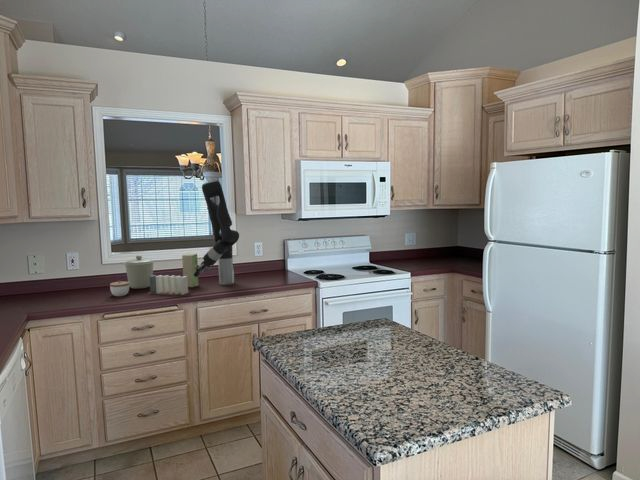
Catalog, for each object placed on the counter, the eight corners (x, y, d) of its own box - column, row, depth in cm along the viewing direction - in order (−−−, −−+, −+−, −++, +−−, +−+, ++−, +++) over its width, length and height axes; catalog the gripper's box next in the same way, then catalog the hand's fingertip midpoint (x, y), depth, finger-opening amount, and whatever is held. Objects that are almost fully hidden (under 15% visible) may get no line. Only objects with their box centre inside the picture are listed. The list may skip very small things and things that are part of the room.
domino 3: (169, 291, 275) (168, 275, 274) (164, 293, 270) (164, 276, 269) (167, 291, 275) (166, 275, 274) (162, 293, 270) (161, 276, 269)
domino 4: (175, 291, 274) (174, 275, 273) (171, 293, 269) (170, 277, 268) (173, 291, 274) (172, 275, 273) (168, 293, 269) (167, 277, 268)
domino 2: (163, 291, 276) (162, 275, 275) (158, 293, 271) (157, 276, 270) (161, 291, 276) (160, 275, 275) (156, 292, 272) (155, 276, 270)
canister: (122, 291, 281) (120, 257, 278) (128, 285, 298) (126, 253, 296) (153, 289, 284) (151, 256, 282) (157, 283, 302) (155, 252, 299)
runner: (190, 292, 273) (190, 291, 273) (182, 296, 265) (182, 295, 265) (156, 291, 280) (156, 290, 279) (147, 294, 271) (147, 293, 271)
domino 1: (157, 290, 277) (156, 274, 276) (152, 292, 272) (151, 276, 271) (155, 290, 277) (154, 274, 276) (150, 292, 273) (149, 276, 271)
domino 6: (188, 292, 271) (187, 276, 270) (183, 294, 267) (182, 277, 266) (185, 292, 272) (184, 276, 271) (181, 294, 267) (180, 277, 266)
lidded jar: (111, 298, 261) (109, 283, 260) (110, 295, 271) (109, 279, 270) (131, 296, 266) (129, 280, 265) (129, 293, 276) (128, 277, 274)
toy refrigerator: (194, 288, 286) (192, 255, 284) (183, 287, 288) (181, 255, 286) (199, 285, 294) (198, 253, 292) (189, 285, 296) (187, 253, 293)
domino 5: (181, 292, 273) (181, 275, 271) (177, 293, 268) (176, 277, 267) (179, 292, 273) (178, 275, 272) (174, 293, 268) (174, 277, 267)
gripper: (214, 249, 268) (196, 269, 273) (202, 252, 256) (184, 273, 260) (222, 258, 267) (205, 278, 272) (211, 262, 255) (193, 282, 259)
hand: (195, 275), depth 266 cm, fingers closed
